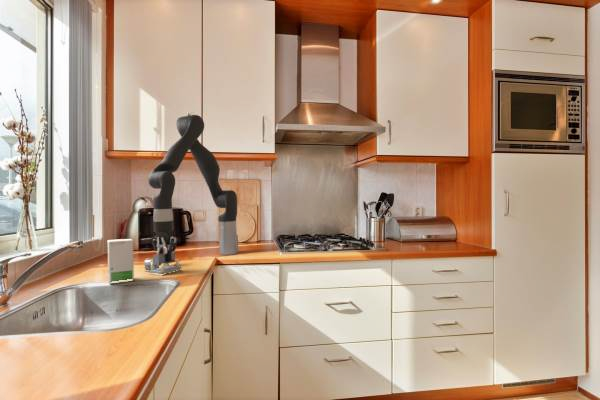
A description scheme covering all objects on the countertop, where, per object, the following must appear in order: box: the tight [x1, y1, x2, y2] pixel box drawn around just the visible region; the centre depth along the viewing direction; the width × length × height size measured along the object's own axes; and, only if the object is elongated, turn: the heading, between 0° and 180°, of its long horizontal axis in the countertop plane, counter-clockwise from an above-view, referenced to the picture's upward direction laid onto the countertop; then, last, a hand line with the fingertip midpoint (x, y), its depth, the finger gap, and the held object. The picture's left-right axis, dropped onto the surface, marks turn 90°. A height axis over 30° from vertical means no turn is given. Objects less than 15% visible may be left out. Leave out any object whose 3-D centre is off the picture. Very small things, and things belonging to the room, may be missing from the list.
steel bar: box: [152, 251, 176, 266], centre depth 141 cm, size 8×4×4 cm, turn 151°
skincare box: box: [106, 238, 135, 283], centre depth 128 cm, size 8×7×16 cm
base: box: [144, 265, 160, 270], centre depth 147 cm, size 6×6×2 cm
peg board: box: [148, 259, 182, 274], centre depth 141 cm, size 10×8×4 cm
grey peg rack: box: [143, 247, 175, 267], centre depth 150 cm, size 14×6×7 cm, turn 151°
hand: (165, 261), depth 141 cm, fingers closed on steel bar, 3 cm apart
